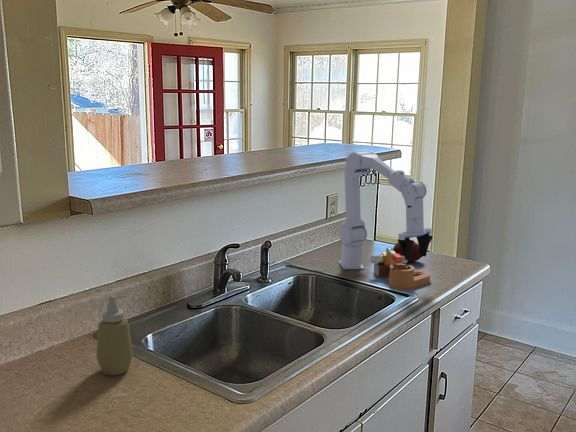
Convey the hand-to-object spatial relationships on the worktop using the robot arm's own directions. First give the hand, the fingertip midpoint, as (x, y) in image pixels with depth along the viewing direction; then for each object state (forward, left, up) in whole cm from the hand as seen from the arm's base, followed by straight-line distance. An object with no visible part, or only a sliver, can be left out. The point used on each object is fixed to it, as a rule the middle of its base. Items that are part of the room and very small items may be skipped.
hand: (415, 257), depth 187 cm
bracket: (-5, 0, -11) cm, 12 cm away
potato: (-30, +8, -11) cm, 33 cm away
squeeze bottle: (+52, -90, -11) cm, 105 cm away
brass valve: (-13, -5, -11) cm, 18 cm away
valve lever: (-8, -5, -2) cm, 10 cm away
